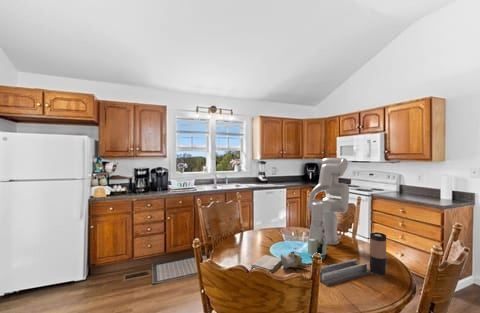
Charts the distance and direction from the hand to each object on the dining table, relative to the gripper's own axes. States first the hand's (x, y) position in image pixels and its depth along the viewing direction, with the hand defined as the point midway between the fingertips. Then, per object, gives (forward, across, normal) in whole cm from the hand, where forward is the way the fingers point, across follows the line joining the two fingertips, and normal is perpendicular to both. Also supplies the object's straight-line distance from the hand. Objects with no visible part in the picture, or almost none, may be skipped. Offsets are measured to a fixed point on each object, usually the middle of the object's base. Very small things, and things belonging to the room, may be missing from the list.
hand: (317, 251), depth 150 cm
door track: (+2, -24, +6) cm, 25 cm away
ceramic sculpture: (+2, -7, +24) cm, 25 cm away
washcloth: (+2, 0, +36) cm, 36 cm away
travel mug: (+2, -30, -14) cm, 33 cm away
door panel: (+2, 0, 0) cm, 2 cm away
